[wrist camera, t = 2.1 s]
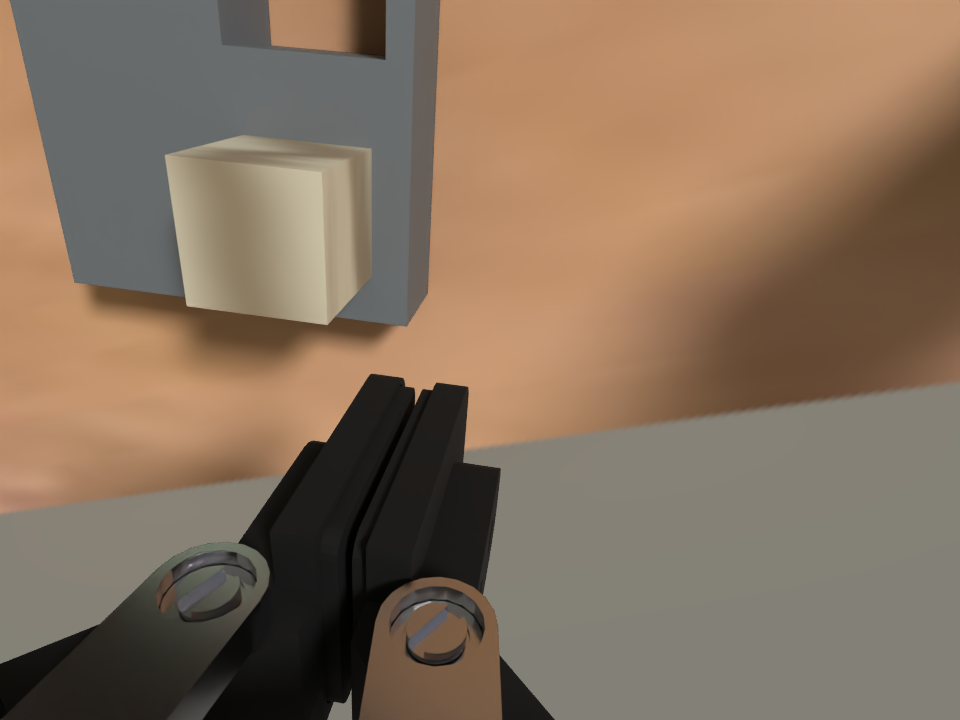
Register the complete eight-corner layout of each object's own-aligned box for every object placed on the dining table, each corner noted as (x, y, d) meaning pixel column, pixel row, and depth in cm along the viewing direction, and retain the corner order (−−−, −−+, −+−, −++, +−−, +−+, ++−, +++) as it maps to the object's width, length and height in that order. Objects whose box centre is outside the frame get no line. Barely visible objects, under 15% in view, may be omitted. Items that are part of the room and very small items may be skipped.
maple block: (371, 148, 23) (321, 172, 19) (371, 276, 25) (327, 324, 21) (243, 135, 24) (164, 155, 19) (254, 262, 26) (186, 306, 21)
